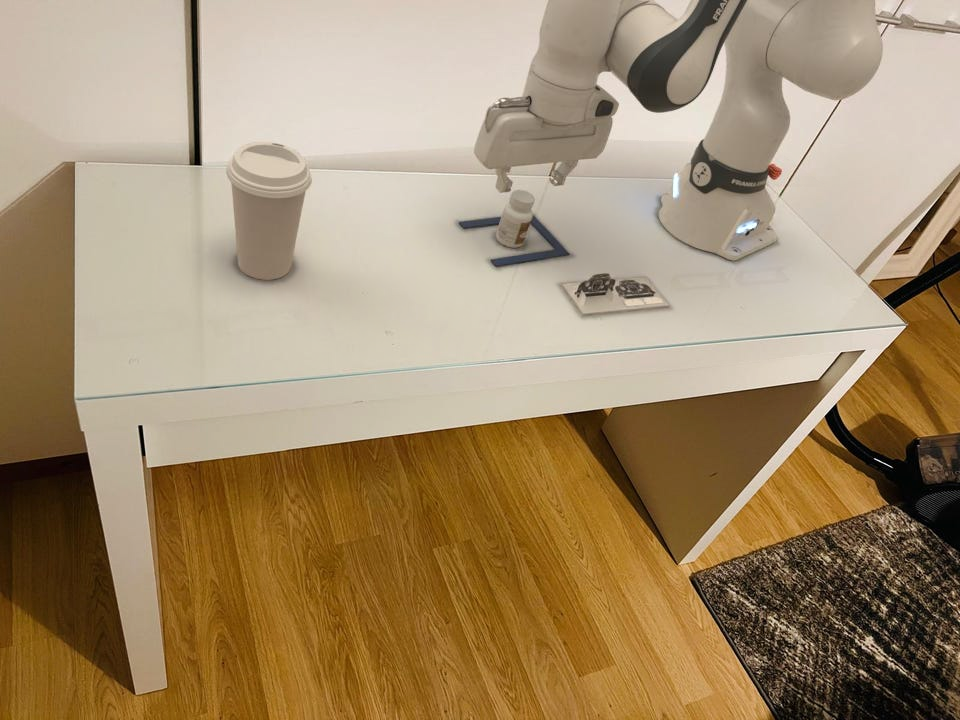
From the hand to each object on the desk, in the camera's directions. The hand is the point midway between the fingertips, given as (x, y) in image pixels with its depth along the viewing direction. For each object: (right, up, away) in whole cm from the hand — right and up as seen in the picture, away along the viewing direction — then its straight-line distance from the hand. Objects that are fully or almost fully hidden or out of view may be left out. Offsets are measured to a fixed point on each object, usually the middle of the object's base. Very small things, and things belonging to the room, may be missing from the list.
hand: (529, 187), depth 108 cm
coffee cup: (-35, -13, -12) cm, 39 cm away
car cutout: (+12, -16, +2) cm, 20 cm away
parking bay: (-3, -7, +6) cm, 9 cm away
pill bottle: (-3, -7, +6) cm, 9 cm away
